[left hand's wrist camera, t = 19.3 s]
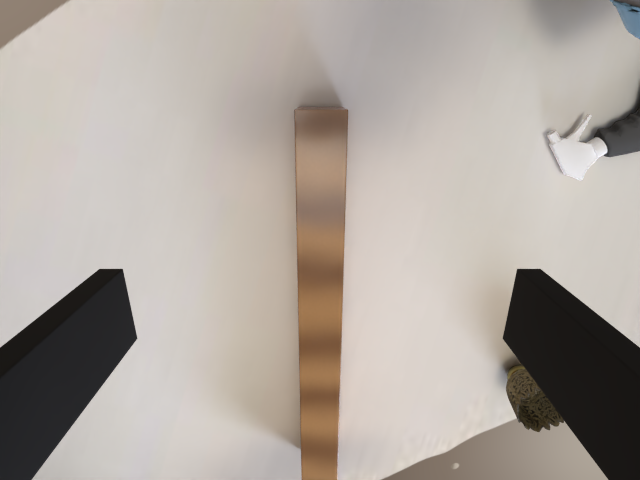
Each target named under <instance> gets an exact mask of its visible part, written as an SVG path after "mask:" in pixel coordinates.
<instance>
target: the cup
mask: <svg viewBox="0 0 640 480" xmlns="http://www.w3.org/2000/svg"><path fill="white" fill-rule="evenodd" d="M507 379H508V381H507V385H506V391H507V395H508V398H509V401H510V403H511V406H512V408H513V410H514V412H515V414H516V417H517V419H518V421H519V422H522V423H523V424H524V426H525V428H527V429H528V430H529V429H530V428H531V429H532V430H534V431H537V432H540V430H541V428H542V427H544V428H545V429H547V430H550V424H551V425H553V426H558V425H559V422H562V423H564V420H563V418H562V417H561V416H560V414H559V413H558V412H557V410H556V409H555V408H554V406H553V405H552V404H551V402H550V401H549V400H548V398H547V397H546V396H545V394H544V393H543V392H542V390H541V389H540V388H539V386H538V385H537V384H536V382H535V381H534V380H533V378H532V377H531V376H530V374H529V373H528V372H527V370H526V369H525V368H524V366H523V365H517V366H514V367H512V368H511V369H510V370H509V371H508V373H507Z"/></svg>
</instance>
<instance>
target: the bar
mask: <svg viewBox="0 0 640 480" xmlns="http://www.w3.org/2000/svg"><path fill="white" fill-rule="evenodd" d="M294 111H295V162H296V213H297V263H298V314H299V365H300V415H301V466H302V480H337V475H338V440H339V406H340V371H341V337H342V302H343V268H344V233H345V199H346V164H347V130H348V110H347V109H345V108H343V107H298V108H297V109H295V110H294Z"/></svg>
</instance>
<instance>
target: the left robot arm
mask: <svg viewBox="0 0 640 480" xmlns="http://www.w3.org/2000/svg"><path fill="white" fill-rule="evenodd" d="M610 1H611V2H612V3H613V5H614V6H616V8H617V10H618V12H619V14H620V17H621V19H622V21H623V23H624V26H625V28H626V29H627V31H628V32H629V33H631V34H633V35H634V36H635V37H637V38H639V39H640V0H610ZM136 339H137V335H136V330H135V325H134V321H133V316H132V311H131V306H130V302H129V297H128V292H127V287H126V282H125V278H124V273H123V269H99V270H98V271H97V272H95V273H94V274H93V275H91V276H90V277H89V278H88V279H86V280H85V281H84V282H83V283H81V284H80V285H79V286H78V287H76V288H75V289H74V290H73V291H71V292H70V293H69V294H67V295H66V296H65V297H64V298H62V299H61V300H60V301H59V302H57V303H56V304H55V305H54V306H52V307H51V308H50V309H49V310H47V311H46V312H45V313H44V314H42V315H41V316H40V317H38V318H37V319H36V320H35V321H33V322H32V323H31V324H30V325H28V326H27V327H26V328H25V329H23V330H22V331H21V332H20V333H18V334H17V335H16V336H14V337H13V338H12V339H11V340H9V341H8V342H7V343H6V344H4V345H3V346H2V347H1V348H0V480H32V478H33V477H34V476H35V474H36V473H37V472H38V470H39V469H40V468H41V466H42V465H43V464H44V462H45V461H46V460H47V458H48V457H49V456H50V454H51V453H52V452H53V450H54V449H55V448H56V446H57V445H58V444H59V442H60V441H61V440H62V438H63V437H64V436H65V434H66V433H67V432H68V430H69V429H70V428H71V426H72V425H73V424H74V422H75V421H76V420H77V418H78V417H79V416H80V414H81V413H82V412H83V410H84V409H85V408H86V406H87V405H88V404H89V402H90V401H91V400H92V398H93V397H94V396H95V394H96V393H97V392H98V390H99V389H100V388H101V386H102V385H103V384H104V382H105V381H106V380H107V378H108V377H109V376H110V374H111V373H112V372H113V370H114V369H115V368H116V366H117V365H118V363H119V362H120V361H121V359H122V358H123V357H124V355H125V354H126V353H127V351H128V350H129V349H130V347H131V346H132V345H133V343H134V342H135V341H136ZM503 339H504V341H505V342H506V343H507V345H508V346H509V347H510V349H511V350H512V351H513V353H514V354H515V355H516V357H517V358H518V359H519V361H520V362H521V363H522V365H523V366H524V368H525V369H526V370H527V372H528V373H529V374H530V376H531V377H532V378H533V380H534V381H535V382H536V384H537V385H538V386H539V388H540V389H541V390H542V392H543V393H544V394H545V396H546V397H547V398H548V400H549V401H550V402H551V404H552V405H553V406H554V408H555V409H556V410H557V412H558V413H559V414H560V416H561V417H562V418H563V420H564V421H565V422H566V424H567V425H568V426H569V428H570V429H571V430H572V432H573V433H574V434H575V436H576V437H577V438H578V440H579V441H580V442H581V444H582V445H583V446H584V448H585V449H586V450H587V452H588V453H589V454H590V456H591V457H592V458H593V460H594V461H595V462H596V463H597V465H598V466H599V468H600V469H601V470H602V471H603V473H604V474H605V476H606V477H607V478H608V480H640V348H639V347H638V346H637V345H636V344H634V343H633V342H632V341H631V340H629V339H628V338H627V337H626V336H624V335H623V334H622V333H620V332H619V331H618V330H617V329H615V328H614V327H613V326H612V325H610V324H609V323H608V322H607V321H605V320H604V319H603V318H602V317H600V316H599V315H598V314H596V313H595V312H594V311H593V310H591V309H590V308H589V307H588V306H586V305H585V304H584V303H583V302H581V301H580V300H579V299H578V298H576V297H575V296H574V295H572V294H571V293H570V292H569V291H567V290H566V289H565V288H564V287H562V286H561V285H560V284H559V283H557V282H556V281H555V280H554V279H552V278H551V277H550V276H549V275H547V274H546V273H545V272H543V271H542V270H541V269H517V273H516V278H515V282H514V287H513V292H512V297H511V302H510V306H509V311H508V316H507V321H506V325H505V330H504V335H503Z"/></svg>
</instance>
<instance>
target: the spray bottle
mask: <svg viewBox="0 0 640 480" xmlns="http://www.w3.org/2000/svg"><path fill="white" fill-rule="evenodd" d="M591 116H592V115H588V114H587V116H586V117H585V118H584V119H583V121H582V122H581V123H580V124H579V125H578V127H577V128H576V129H575V130H574V132H572V133H571V134H570V135H569V136H567V137H566V138H561V137H560V136H559V135H558V133H557V131H556V130H553V131H550V132H549V133H548V134H547V136H548V138H549V141H550V144H549V145H550V147H551V149H552V151H553V153H554V155H555V157H556V159H557V162H558V164H559V166H560V168H561V170H562V172H563V174H564V175H567V176H570V177H573V178H575V179H578V180H581V181H582V180H583V177H584V175H585V172H586V171H587V170H588V168H589V167H590V166H591V165H592V164H593V163H594V162H595V161H597V158H599V157H601V156H602V155H604V156H606V157H613V156H619V155H624V154H629V153H633V152H638V151H640V108H639V109H638V110H637V111H636V112H635V113H633V114H629V116H628V117H627V118H626V119H624V120H620V121H617V122H615V123H614V124H613V125H612V126H611V127H610V128H605V129H598V131H597V132H596V134H595V136H594V138H593V139H592V140H590V141H589V142H587V143H584V142H579V140H580V136H581V134H582V132H583V131H584V129H585V127H586V126H587V124H588V122H589V120H590V118H591Z"/></svg>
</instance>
